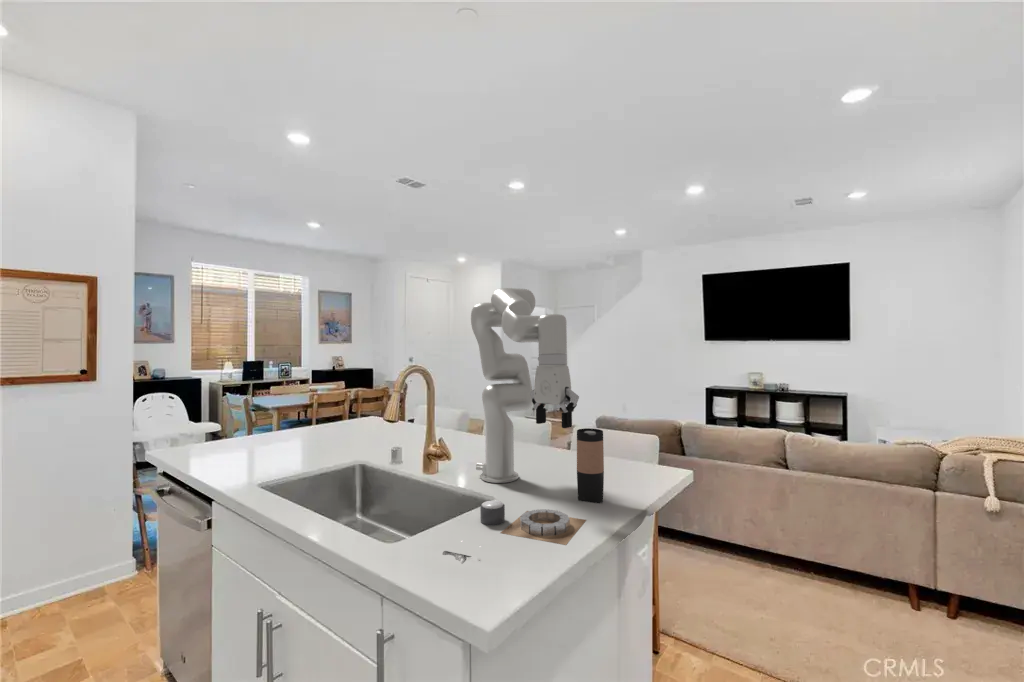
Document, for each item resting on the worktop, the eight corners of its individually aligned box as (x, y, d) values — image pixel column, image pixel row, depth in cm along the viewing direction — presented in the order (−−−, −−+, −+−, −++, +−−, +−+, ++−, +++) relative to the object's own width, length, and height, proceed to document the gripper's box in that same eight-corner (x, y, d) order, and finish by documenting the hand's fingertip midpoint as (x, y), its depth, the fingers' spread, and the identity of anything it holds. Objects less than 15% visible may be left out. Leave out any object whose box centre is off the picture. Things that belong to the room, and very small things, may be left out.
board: (499, 538, 109) (499, 532, 109) (527, 515, 123) (527, 510, 123) (566, 550, 102) (565, 544, 102) (586, 524, 116) (586, 519, 116)
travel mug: (587, 494, 140) (587, 427, 140) (609, 500, 134) (608, 430, 134) (571, 500, 134) (571, 430, 135) (593, 507, 129) (593, 434, 129)
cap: (476, 528, 115) (475, 506, 115) (487, 519, 120) (487, 498, 120) (498, 532, 112) (497, 509, 112) (508, 523, 118) (508, 501, 118)
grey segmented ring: (512, 530, 110) (512, 522, 110) (531, 514, 120) (531, 506, 120) (559, 539, 105) (559, 530, 105) (575, 521, 115) (575, 513, 115)
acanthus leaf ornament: (462, 545, 106) (462, 537, 106) (485, 553, 102) (485, 544, 102) (438, 557, 100) (438, 548, 100) (462, 566, 96) (462, 557, 96)
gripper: (520, 360, 129) (521, 423, 129) (566, 361, 116) (567, 431, 116) (540, 360, 134) (541, 420, 134) (586, 360, 121) (587, 427, 120)
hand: (553, 425), depth 125 cm, fingers open, 9 cm apart
